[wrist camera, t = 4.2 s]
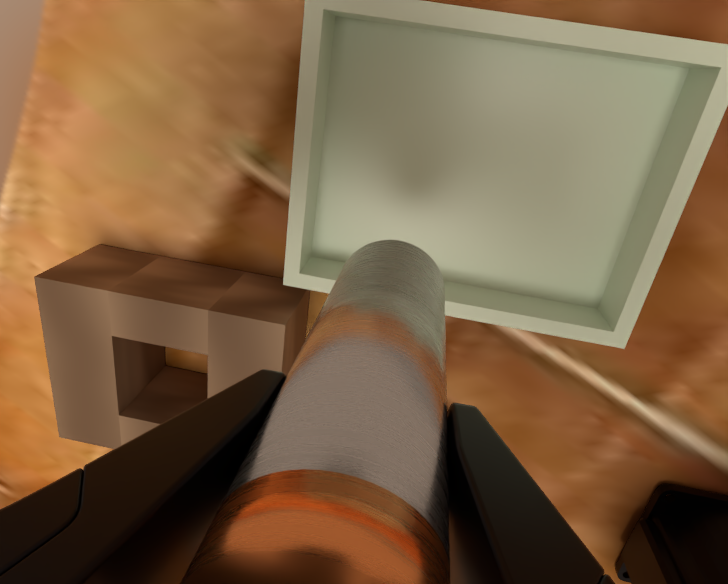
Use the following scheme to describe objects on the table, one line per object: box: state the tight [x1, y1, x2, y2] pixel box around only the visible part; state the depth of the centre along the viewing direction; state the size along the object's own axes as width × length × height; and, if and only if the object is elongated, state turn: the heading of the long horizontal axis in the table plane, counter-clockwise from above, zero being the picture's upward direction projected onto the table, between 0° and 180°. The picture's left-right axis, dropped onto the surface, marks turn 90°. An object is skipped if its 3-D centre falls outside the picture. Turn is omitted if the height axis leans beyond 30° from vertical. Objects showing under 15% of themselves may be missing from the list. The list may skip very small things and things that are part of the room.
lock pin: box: [180, 240, 450, 584], centre depth 9 cm, size 3×3×9 cm
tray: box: [283, 0, 728, 349], centre depth 18 cm, size 13×10×2 cm
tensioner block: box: [34, 244, 310, 449], centre depth 22 cm, size 10×8×4 cm
